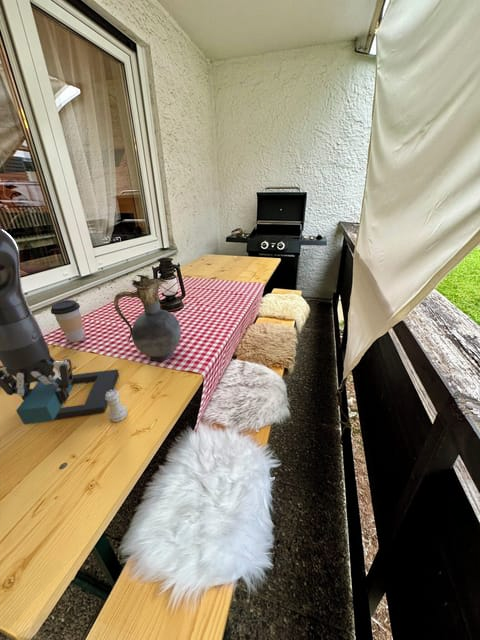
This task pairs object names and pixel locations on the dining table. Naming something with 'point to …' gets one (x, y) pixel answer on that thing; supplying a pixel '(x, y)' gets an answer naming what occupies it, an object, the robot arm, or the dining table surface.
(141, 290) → the pitcher
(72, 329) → the coffee cup
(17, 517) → the dining table surface
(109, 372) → the dark grey rectangular frame
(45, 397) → the block
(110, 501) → the dining table surface
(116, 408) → the rook chess piece
